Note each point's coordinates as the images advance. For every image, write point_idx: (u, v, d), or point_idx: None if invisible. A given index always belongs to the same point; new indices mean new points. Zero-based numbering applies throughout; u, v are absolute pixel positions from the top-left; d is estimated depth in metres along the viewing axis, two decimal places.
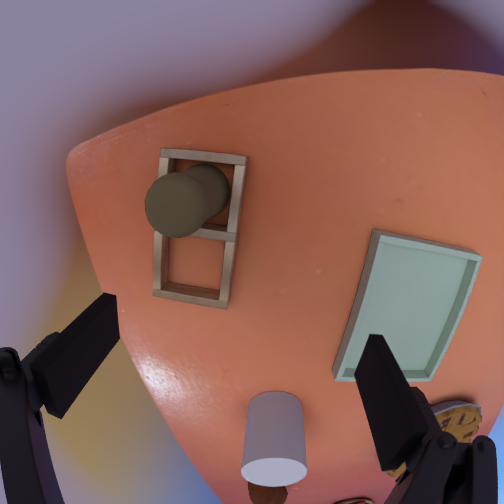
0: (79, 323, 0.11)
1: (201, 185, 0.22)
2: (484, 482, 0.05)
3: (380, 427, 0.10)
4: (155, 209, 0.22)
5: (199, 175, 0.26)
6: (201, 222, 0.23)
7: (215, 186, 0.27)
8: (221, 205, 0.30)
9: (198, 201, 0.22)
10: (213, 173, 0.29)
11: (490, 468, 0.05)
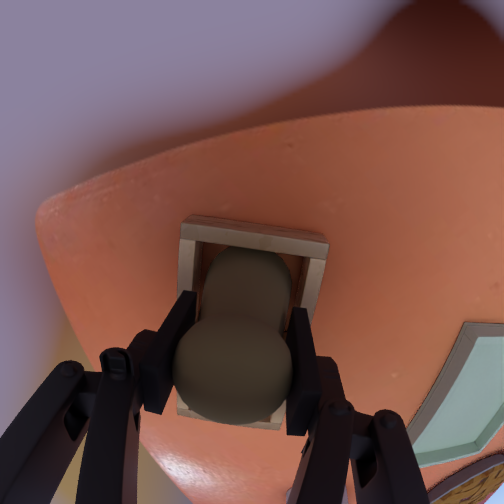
0: (174, 319, 0.13)
1: (283, 346, 0.12)
2: (399, 460, 0.07)
3: None
4: (197, 396, 0.11)
5: (258, 289, 0.15)
6: (281, 404, 0.12)
7: (282, 302, 0.16)
8: None
9: (282, 385, 0.11)
10: (273, 270, 0.18)
11: (402, 443, 0.07)
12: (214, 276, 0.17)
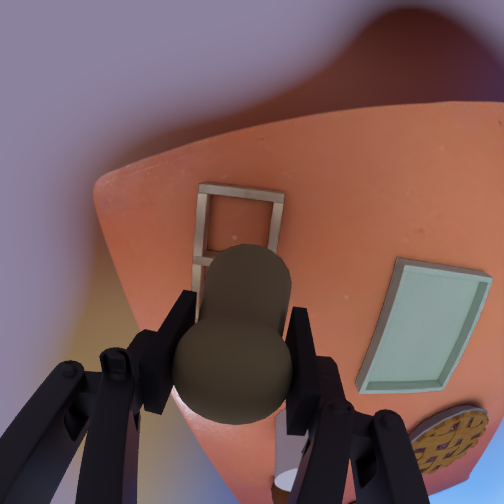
0: (174, 319, 0.13)
1: (282, 346, 0.12)
2: (399, 460, 0.07)
3: (289, 392, 0.12)
4: (196, 396, 0.11)
5: (258, 290, 0.15)
6: (280, 404, 0.12)
7: (282, 303, 0.16)
8: None
9: (282, 385, 0.11)
10: (273, 270, 0.18)
11: (402, 442, 0.07)
12: (214, 276, 0.17)
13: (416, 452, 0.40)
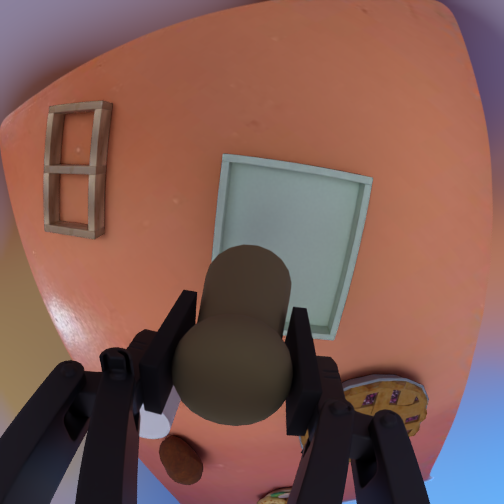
0: (174, 319, 0.13)
1: (282, 347, 0.12)
2: (399, 460, 0.07)
3: None
4: (196, 397, 0.11)
5: (258, 291, 0.15)
6: (280, 405, 0.12)
7: (282, 303, 0.16)
8: None
9: (282, 386, 0.11)
10: (273, 271, 0.18)
11: (402, 442, 0.07)
12: (214, 277, 0.17)
13: None
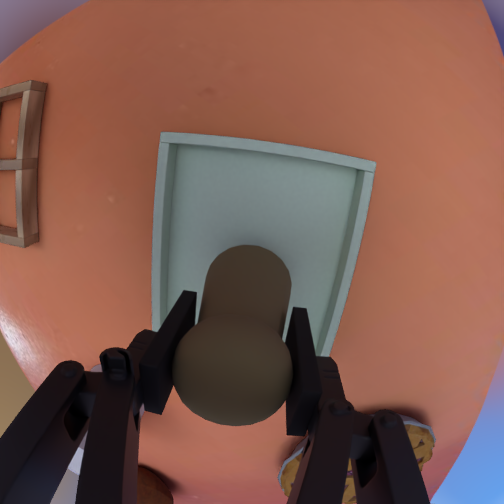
0: (174, 319, 0.13)
1: (282, 348, 0.12)
2: (399, 460, 0.07)
3: None
4: (196, 397, 0.11)
5: (258, 291, 0.15)
6: (280, 405, 0.12)
7: (282, 304, 0.16)
8: None
9: (282, 386, 0.11)
10: (273, 271, 0.18)
11: (402, 443, 0.07)
12: (214, 277, 0.17)
13: None
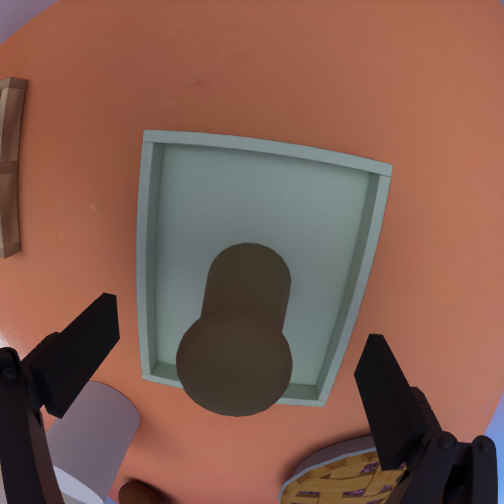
0: (79, 323, 0.11)
1: (282, 340, 0.12)
2: (484, 482, 0.05)
3: (380, 427, 0.10)
4: (200, 388, 0.11)
5: (259, 286, 0.16)
6: (280, 396, 0.12)
7: (282, 299, 0.17)
8: None
9: (282, 377, 0.11)
10: (273, 268, 0.19)
11: (491, 467, 0.05)
12: (216, 274, 0.18)
13: (306, 495, 0.26)
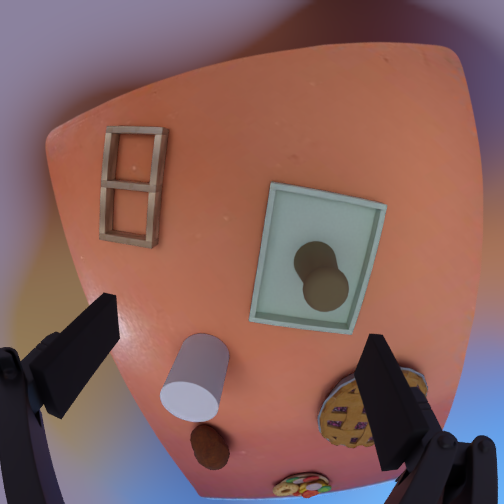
0: (79, 323, 0.11)
1: (345, 276, 0.32)
2: (484, 482, 0.05)
3: (380, 426, 0.10)
4: (317, 295, 0.31)
5: (329, 259, 0.36)
6: None
7: (337, 266, 0.37)
8: None
9: (346, 290, 0.31)
10: (331, 253, 0.38)
11: (490, 468, 0.05)
12: (306, 255, 0.38)
13: (338, 412, 0.46)
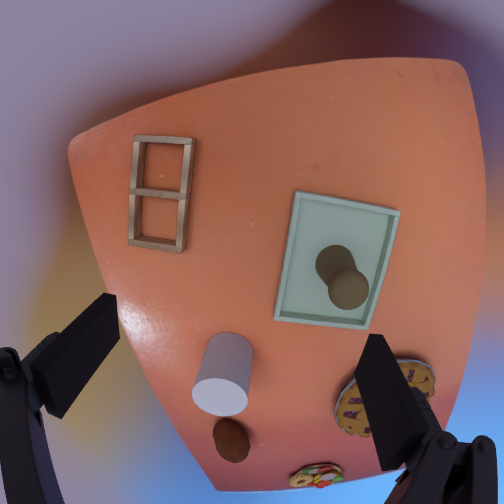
0: (79, 323, 0.11)
1: (366, 278, 0.35)
2: (484, 482, 0.05)
3: (380, 427, 0.10)
4: (341, 295, 0.34)
5: (350, 262, 0.39)
6: (364, 300, 0.35)
7: None
8: None
9: (367, 290, 0.34)
10: (350, 255, 0.41)
11: (490, 467, 0.05)
12: (328, 258, 0.41)
13: (353, 403, 0.49)
